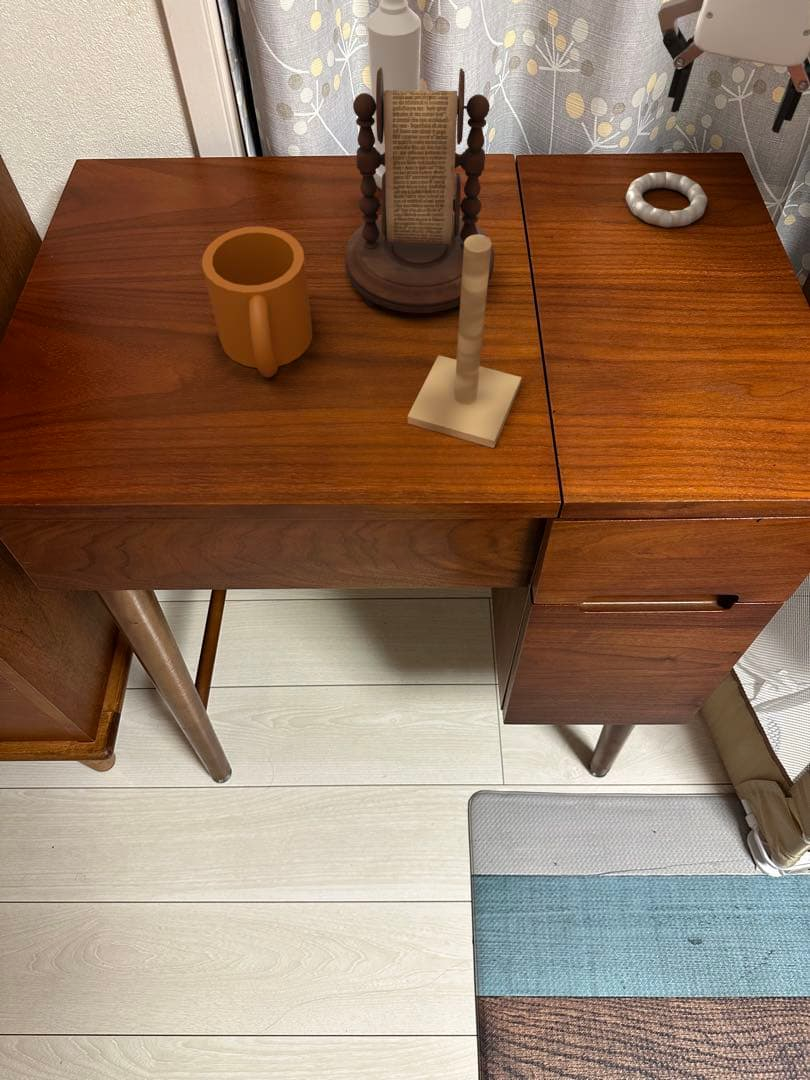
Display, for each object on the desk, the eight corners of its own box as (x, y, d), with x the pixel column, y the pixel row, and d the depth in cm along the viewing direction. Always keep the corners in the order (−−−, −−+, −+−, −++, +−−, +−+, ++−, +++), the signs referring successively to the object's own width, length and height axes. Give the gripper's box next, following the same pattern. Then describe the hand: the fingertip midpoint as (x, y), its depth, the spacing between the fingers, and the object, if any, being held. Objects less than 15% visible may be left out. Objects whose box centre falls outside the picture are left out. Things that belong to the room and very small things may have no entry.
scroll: (341, 323, 78) (322, 122, 62) (351, 227, 86) (337, 26, 70) (494, 326, 78) (517, 124, 61) (490, 229, 86) (509, 27, 69)
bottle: (373, 167, 92) (362, -97, 71) (419, 166, 92) (421, -97, 71) (373, 195, 89) (361, -72, 68) (419, 194, 89) (422, -72, 68)
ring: (709, 192, 89) (714, 178, 88) (696, 237, 85) (700, 224, 84) (634, 176, 91) (637, 162, 90) (617, 219, 87) (620, 206, 85)
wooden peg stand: (520, 384, 74) (546, 222, 60) (493, 448, 70) (514, 290, 56) (438, 362, 75) (444, 199, 61) (407, 423, 71) (406, 264, 57)
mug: (205, 392, 74) (182, 315, 66) (229, 303, 80) (210, 223, 73) (303, 396, 73) (291, 320, 66) (319, 306, 80) (310, 227, 72)
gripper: (914, -98, 64) (821, 112, 79) (697, -129, 68) (646, 78, 82) (910, -58, 61) (813, 155, 75) (679, -93, 64) (629, 117, 79)
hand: (726, 115), depth 79 cm, fingers open, 9 cm apart
